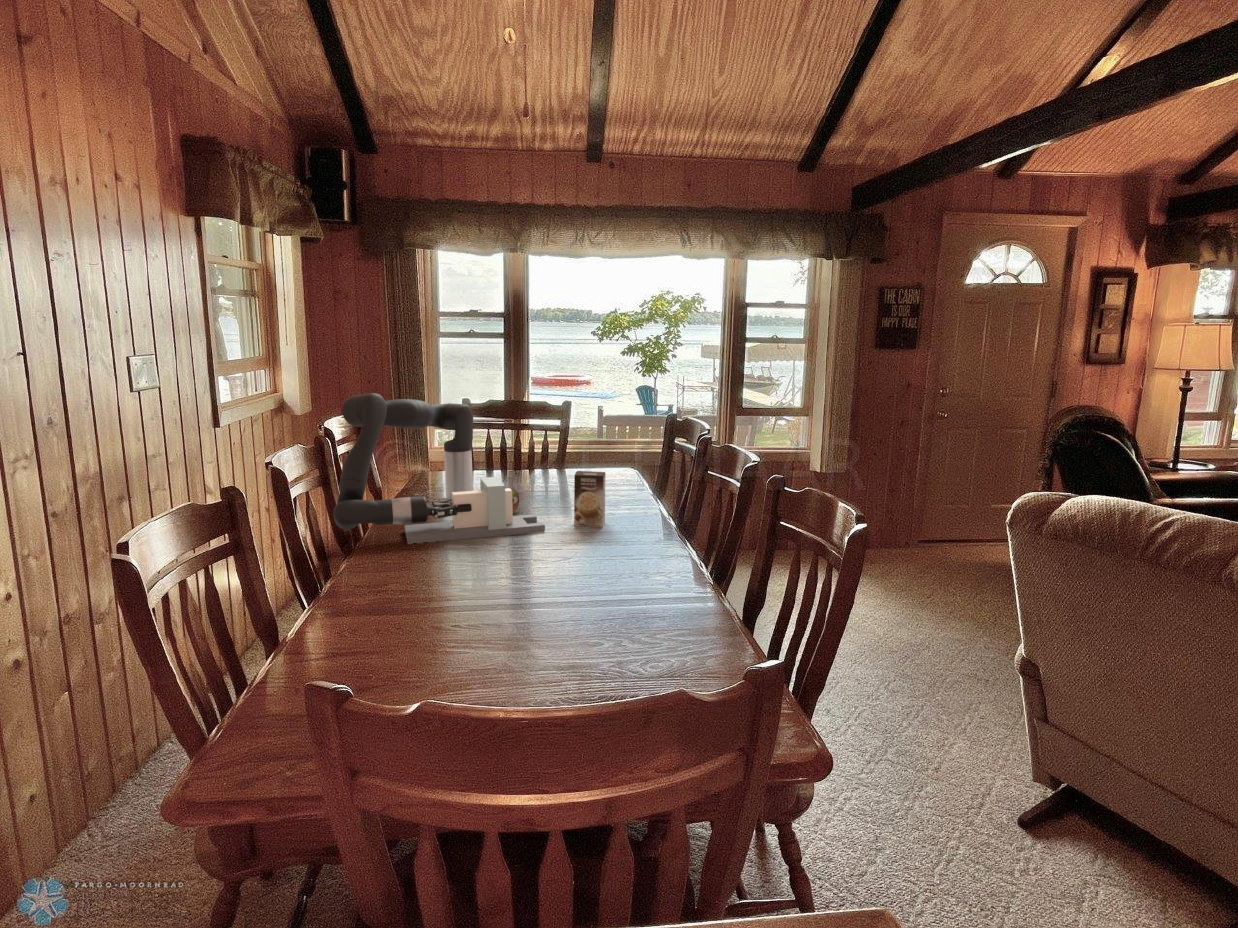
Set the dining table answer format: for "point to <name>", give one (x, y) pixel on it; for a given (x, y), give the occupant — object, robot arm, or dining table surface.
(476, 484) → the dining table surface
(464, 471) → the robot arm
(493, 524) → the tunnel
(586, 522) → the coffee box
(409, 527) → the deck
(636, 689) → the dining table surface
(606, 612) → the dining table surface
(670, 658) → the dining table surface
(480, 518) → the block
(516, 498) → the tin
